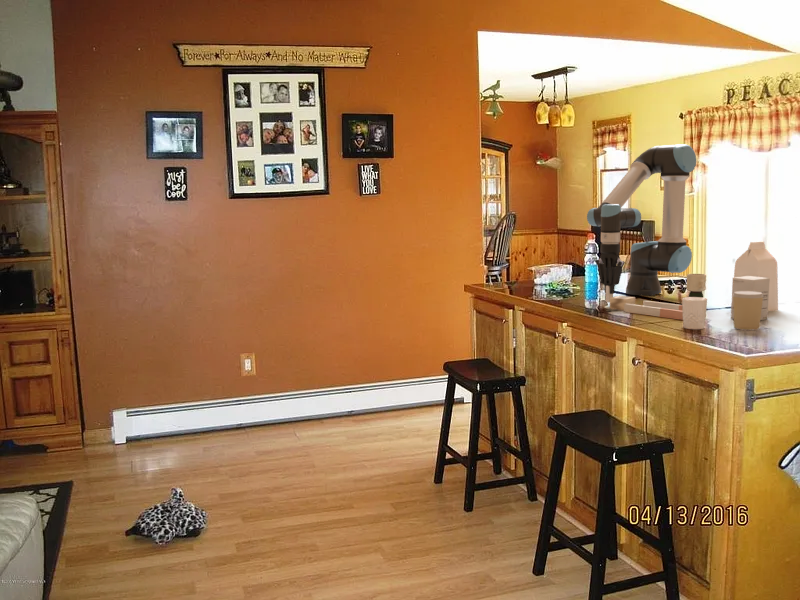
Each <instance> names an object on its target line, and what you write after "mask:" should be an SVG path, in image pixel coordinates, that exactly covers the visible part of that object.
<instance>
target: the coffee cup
mask: <svg viewBox="0 0 800 600" xmlns="http://www.w3.org/2000/svg"><path fill="white" fill-rule="evenodd" d="M762 301H763V293H761V292H755V291H736V292H734V294H733V308H734V319H733V328H735V329H737V330H740V331H741V330H742V331H758V330H759V329H760V326H761V325H760V324H761V320H760V318H761V310H762Z"/></svg>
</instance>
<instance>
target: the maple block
mask: <svg viewBox="0 0 800 600" xmlns="http://www.w3.org/2000/svg"><path fill="white" fill-rule="evenodd" d="M624 304H634V305H636V297H635V296H625V295H618V296H617V295H616V296H613V297H611V298H610V302H609V309H613V310H621V311H624Z"/></svg>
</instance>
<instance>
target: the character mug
mask: <svg viewBox="0 0 800 600" xmlns="http://www.w3.org/2000/svg"><path fill="white" fill-rule="evenodd" d="M706 282H707V274H705V273H687V275H686V291H688V292H689V294H688V297H701V298H704V293H703V292H705V291H706V290H707V286H706Z"/></svg>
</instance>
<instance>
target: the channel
mask: <svg viewBox="0 0 800 600" xmlns="http://www.w3.org/2000/svg"><path fill="white" fill-rule="evenodd" d="M623 312H625V313H632V314H638V315H643V316H644V315H647V316H652V317H658V318H659V317H660V318H667V319H675V320H679V321H680V320H681V321H683V312H682V304H677V303H676V304H675V303H669V302H661V301H660V302H659V301H651V300H643V302H642V305H640V304H635V305H634V304H624V310H623Z"/></svg>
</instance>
